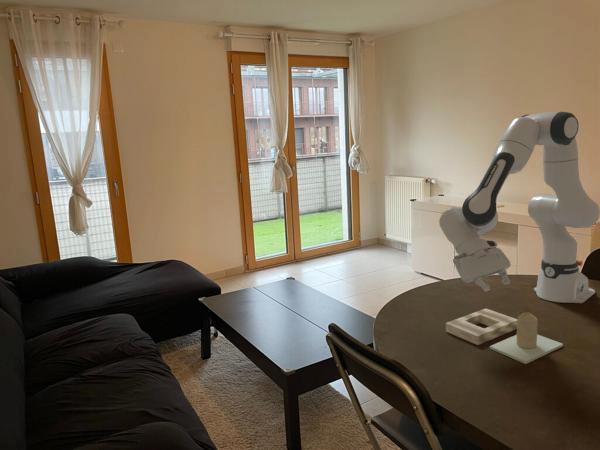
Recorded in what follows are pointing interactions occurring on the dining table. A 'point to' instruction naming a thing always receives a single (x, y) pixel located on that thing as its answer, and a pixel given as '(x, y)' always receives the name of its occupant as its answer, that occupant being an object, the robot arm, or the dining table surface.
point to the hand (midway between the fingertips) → (498, 286)
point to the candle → (527, 330)
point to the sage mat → (523, 354)
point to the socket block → (476, 334)
